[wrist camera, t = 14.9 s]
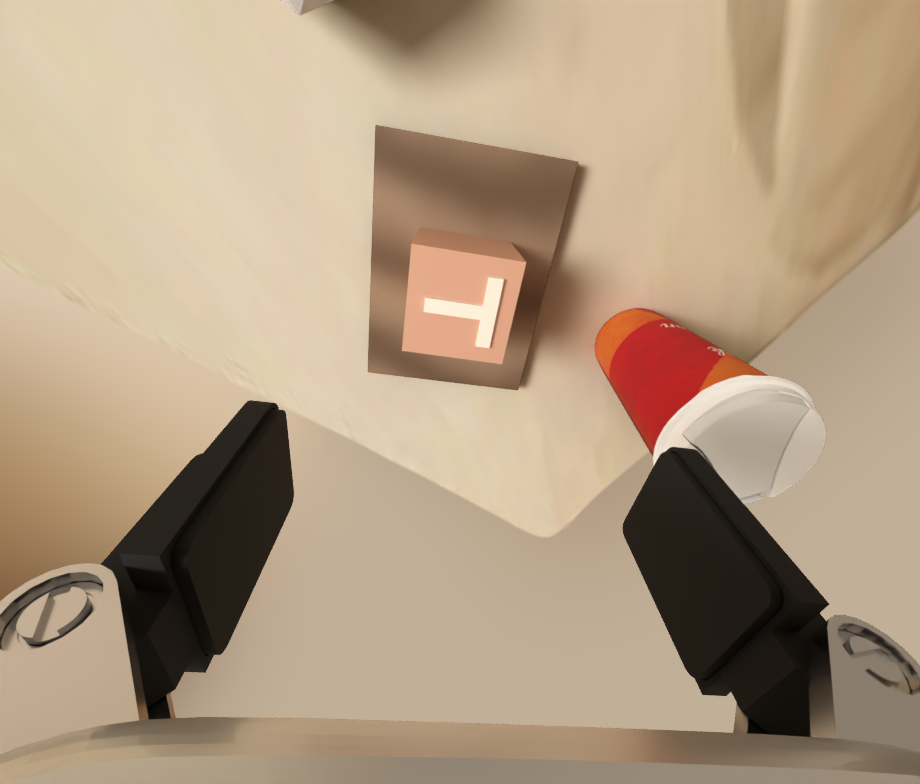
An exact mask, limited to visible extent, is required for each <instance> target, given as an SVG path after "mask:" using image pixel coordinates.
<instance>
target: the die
mask: <svg viewBox="0 0 920 784" xmlns="http://www.w3.org/2000/svg"><path fill="white" fill-rule="evenodd" d="M282 1H283V2H284V3H285V4H286V5H288V6H289V7H290V8H291V9H292V10H294V11H295V12H296V13H297V14H298V15H302V14H305V13H307V12H309V11H311V10H314V9H316V8H318V7H320V6H323V5H325V4H327V3H330V2H332V1H334V0H282Z"/></svg>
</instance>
